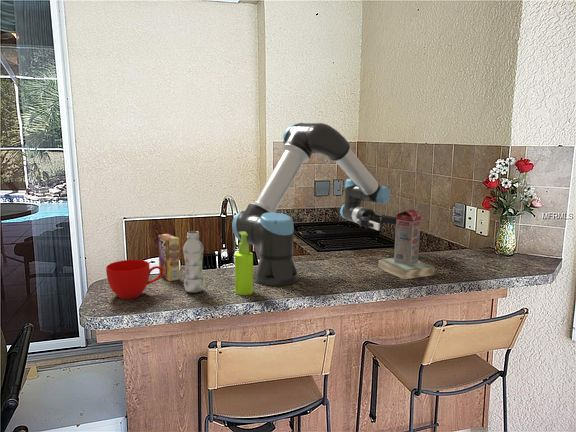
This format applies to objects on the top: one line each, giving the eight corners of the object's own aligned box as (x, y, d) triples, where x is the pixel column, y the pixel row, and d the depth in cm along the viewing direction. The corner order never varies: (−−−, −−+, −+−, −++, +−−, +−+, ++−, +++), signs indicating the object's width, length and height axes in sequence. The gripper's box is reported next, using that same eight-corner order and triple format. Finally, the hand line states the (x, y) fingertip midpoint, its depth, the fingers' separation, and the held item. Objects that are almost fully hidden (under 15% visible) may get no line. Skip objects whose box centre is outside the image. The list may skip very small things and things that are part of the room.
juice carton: (393, 262, 176) (397, 205, 172) (402, 259, 181) (405, 204, 177) (409, 266, 172) (413, 208, 168) (417, 262, 176) (421, 206, 173)
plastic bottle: (206, 294, 149) (204, 233, 145) (184, 295, 147) (183, 234, 144) (203, 287, 155) (202, 229, 152) (183, 289, 153) (181, 230, 150)
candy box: (181, 279, 163) (179, 237, 161) (169, 281, 161) (168, 239, 158) (170, 273, 170) (168, 233, 167) (158, 275, 167) (157, 234, 165)
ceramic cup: (164, 298, 144) (163, 268, 143) (107, 304, 139) (105, 273, 137) (161, 285, 156) (160, 257, 155) (108, 290, 151) (106, 261, 149)
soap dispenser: (249, 287, 156) (249, 229, 152) (254, 294, 149) (254, 234, 146) (232, 289, 154) (232, 230, 150) (237, 296, 148) (236, 235, 144)
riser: (403, 279, 167) (404, 270, 166) (378, 267, 181) (378, 259, 180) (434, 275, 172) (434, 266, 172) (407, 263, 187) (407, 255, 186)
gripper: (387, 223, 207) (417, 232, 188) (338, 227, 197) (366, 237, 178) (388, 206, 205) (419, 214, 186) (339, 209, 196) (366, 218, 176)
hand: (393, 225), depth 182 cm, fingers open, 13 cm apart
